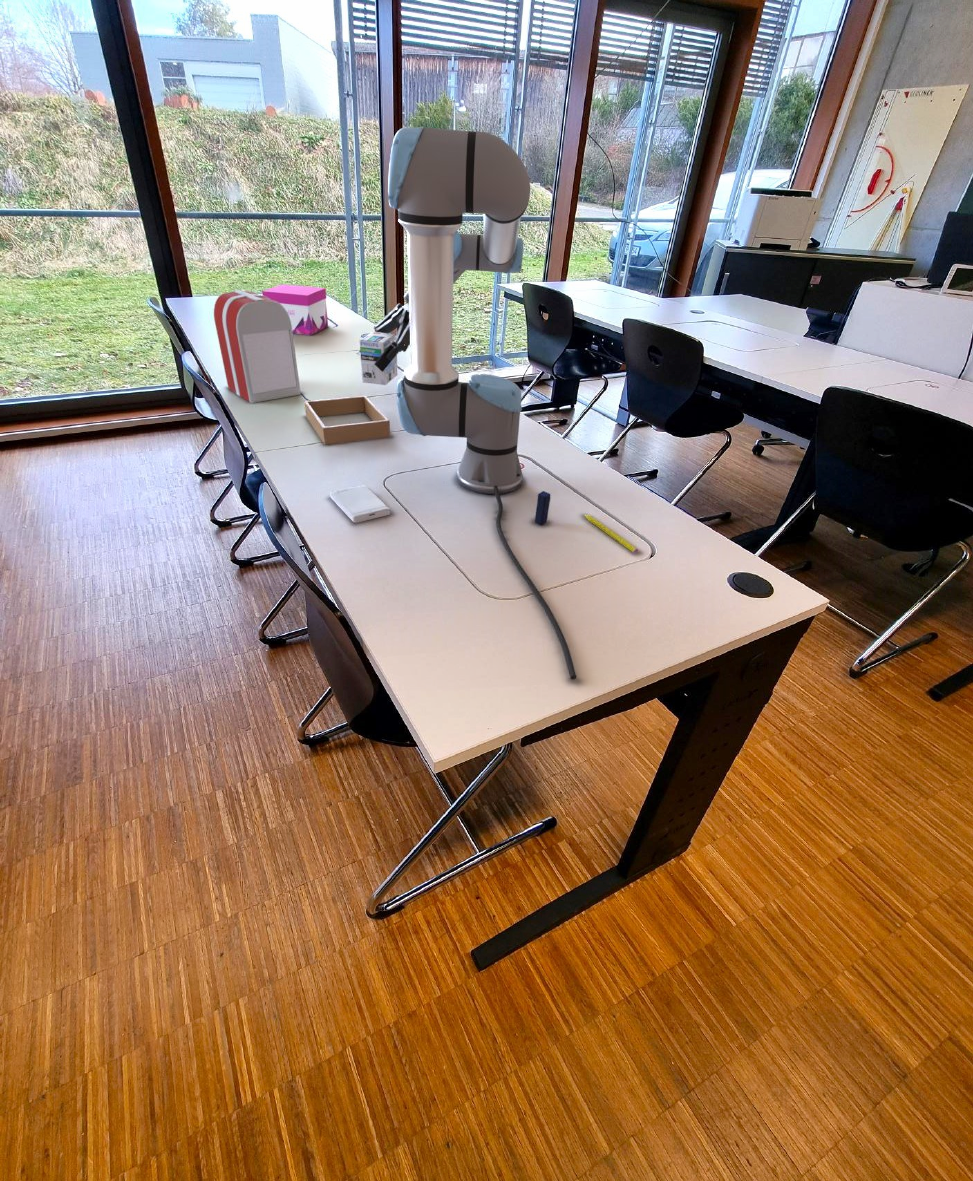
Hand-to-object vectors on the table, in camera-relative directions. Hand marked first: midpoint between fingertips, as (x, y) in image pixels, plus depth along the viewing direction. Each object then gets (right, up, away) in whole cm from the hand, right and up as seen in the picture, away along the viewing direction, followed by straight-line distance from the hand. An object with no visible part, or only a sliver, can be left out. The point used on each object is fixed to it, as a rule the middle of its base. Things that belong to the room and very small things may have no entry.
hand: (370, 361), depth 153 cm
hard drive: (+4, -43, -29) cm, 52 cm away
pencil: (+56, -49, -33) cm, 81 cm away
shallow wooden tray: (-8, -15, +7) cm, 18 cm away
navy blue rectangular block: (+42, -46, -31) cm, 70 cm away
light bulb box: (+2, -3, +4) cm, 5 cm away
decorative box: (-50, +52, +96) cm, 120 cm away
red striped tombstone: (-39, +2, +28) cm, 47 cm away
